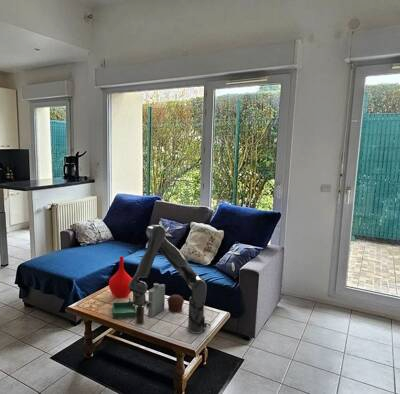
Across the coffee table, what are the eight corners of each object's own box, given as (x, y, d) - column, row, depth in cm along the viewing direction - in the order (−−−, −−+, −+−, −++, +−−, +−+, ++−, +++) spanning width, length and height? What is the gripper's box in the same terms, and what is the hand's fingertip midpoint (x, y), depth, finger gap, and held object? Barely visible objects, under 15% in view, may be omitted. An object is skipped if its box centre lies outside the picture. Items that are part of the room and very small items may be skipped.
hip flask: (150, 317, 222) (151, 288, 220) (146, 315, 225) (146, 286, 222) (165, 309, 235) (166, 281, 232) (160, 307, 237) (161, 279, 235)
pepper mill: (143, 320, 219) (143, 301, 217) (144, 323, 215) (144, 305, 213) (135, 320, 219) (136, 302, 217) (136, 324, 214) (136, 305, 212)
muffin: (170, 314, 228) (170, 300, 226) (164, 307, 238) (164, 293, 237) (186, 312, 231) (187, 298, 230) (180, 304, 242) (180, 291, 240)
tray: (134, 306, 238) (134, 301, 237) (136, 317, 223) (136, 312, 222) (112, 307, 236) (112, 302, 235) (113, 318, 221) (113, 313, 220)
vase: (123, 302, 243) (123, 262, 239) (103, 296, 253) (103, 257, 249) (138, 294, 258) (138, 256, 254) (119, 288, 268) (119, 251, 264)
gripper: (151, 292, 204) (151, 301, 217) (127, 291, 205) (129, 300, 218) (150, 304, 200) (151, 313, 213) (126, 303, 200) (128, 312, 213)
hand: (140, 307), depth 215 cm, fingers open, 8 cm apart
